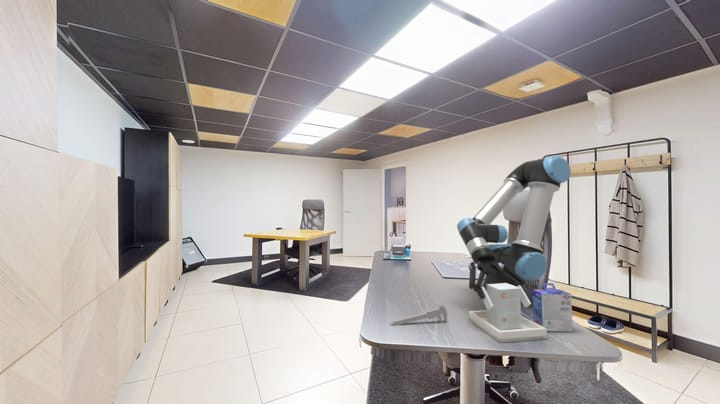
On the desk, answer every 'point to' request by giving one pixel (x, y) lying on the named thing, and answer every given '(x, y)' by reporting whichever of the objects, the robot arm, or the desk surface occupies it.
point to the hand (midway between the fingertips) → (509, 306)
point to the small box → (504, 306)
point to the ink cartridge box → (552, 308)
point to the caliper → (424, 316)
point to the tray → (524, 333)
